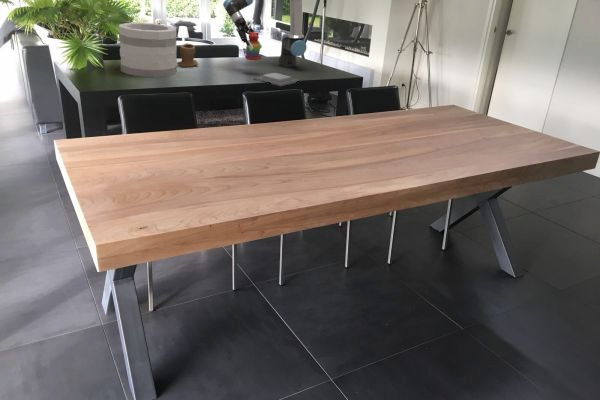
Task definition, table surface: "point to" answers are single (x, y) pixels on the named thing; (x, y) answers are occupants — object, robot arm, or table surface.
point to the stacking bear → (255, 51)
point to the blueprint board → (277, 79)
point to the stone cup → (187, 55)
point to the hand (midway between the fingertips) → (256, 48)
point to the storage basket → (148, 49)
